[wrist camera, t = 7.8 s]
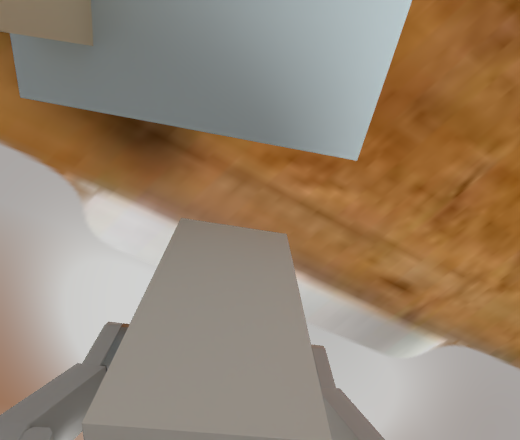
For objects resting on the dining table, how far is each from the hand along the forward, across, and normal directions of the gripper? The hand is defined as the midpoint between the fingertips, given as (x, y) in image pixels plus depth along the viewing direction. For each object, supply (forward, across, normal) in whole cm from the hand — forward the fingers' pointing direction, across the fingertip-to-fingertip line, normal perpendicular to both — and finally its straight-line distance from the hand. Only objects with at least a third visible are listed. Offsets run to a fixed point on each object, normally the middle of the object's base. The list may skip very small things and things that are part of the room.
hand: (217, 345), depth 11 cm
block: (+4, 0, 0) cm, 4 cm away
